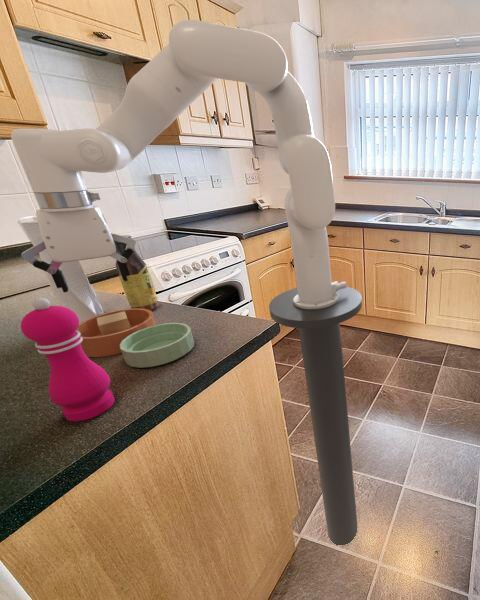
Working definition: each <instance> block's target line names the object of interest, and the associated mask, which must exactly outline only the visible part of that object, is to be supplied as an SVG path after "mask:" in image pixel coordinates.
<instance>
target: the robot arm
mask: <svg viewBox="0 0 480 600" xmlns="http://www.w3.org/2000/svg"><path fill="white" fill-rule="evenodd" d="M288 65H289V63H288V58H287V55H286V52H285V51H284V48H283V47H282V45H281V44H280V43H279V42H278V41H277V40H276V39H274V37H272V36H270V35H268V34H266V33H264V32H260V31H257V30H252V29H246V28H241V27H235V26H231V25H225V24H220V23H215V22H210V21H204V20H198V19H182V20H180V21H177V22H175V23H174V24H173V26H172V27H171V28H170V30H169V35H168V43H167V44H166V46H164V47H163V48H162V49H161V50H160V51H159V52H158V53H156V55H155V56H154V57H153V58H152V59H151V60H149V61H148V62H147V63H146V64H145V65H144V66H143V67H142V68H141V69H140V70H139V71H137V73H135V74H134V75H132V77H131V78H130V79H129V81H128V83H127V85H126V86H125V87H126V88H125V91H124V96H123V98H122V100H121V102H120V103H119V104H118V106H117V108H116V109H115V110H114V111H113V112H112V113H111V114H110V115H109V116H108V117H107V118H106V119H105V120H104V121H103V122H102V123H101V124H99V125H98V126H97V127H96V128H76V129H75V128H74V129H66V130H65V129H64V130H58V129H51V128H50V129H49V128H31V127H29V128H28V127H27V128H15V129H13V130H12V131H11V132H10V138H11V142H12V144H13V146H14V149H15V151H16V154H17V156H18V158H19V161H20V164H21V165H22V168H23V170H24V173H25V175H26V178H27V180H28V183H29V185H30V188H31V190H32V192H33V195H34V198H35V200H36V202H37V205H38V207H39V209H35V214H36V215H35V216H37V221H38V225H39V228H40V232H41V235H42V238H43V241H42V242H40V243H38V244H37V245H35V246H33V245H32V247H30V248H27V249H26V250H24V251H23V252H21V253H20V256H21V258H22V259H24V260H25V261H26V262H28V263H29V264H31V265H32V266H33V267H34V268H36V269H39V270H41V271H43V272H44V271H46V272H48V273H49V274H51V275H52V277H53V280H54V282H55V284H56V287H57V288H62V290H63V292H67V291H68V285H67V283H66V280H65V278H64V276H63V273H62V271H61V270H59V267H60V266H61V264H62V263H64V262H73V261H79V262H80V261H87V260H93V259H100V258H106V257H110V258H112V259H115V261H116V260H118V262H117V264H118V267H119V270H120V272H121V275H122V278H123V280H124V281H128V279H127V276H130V273H129V270H128V267H127V264H126V262H127V260H128V258H129V257H130V256H131V255H132V253H133V250H134V249H135V247H136V244H137V241H136V240H135V238H133V237H131V238H128V237H124V236H121V235H120V234H116V233H112V232H111V229H110V227H109V224H108V222H107V219H106V218H105V216H104V214H103V212H102V211H101V209H100V207H99V206H98V205H94V204H93V203H94V202H97V201H101V197H100V194H99V192H95V193H94V192H91V191H89V190H88V187H87V184H86V182H85V178H84V176H83V173H82V172H88V173H97V174H99V173H100V174H105V173H112V172H115V171H120V170H122V169H124V168H125V167H127V166H129V164H131V163H132V162H133V161H134V160H135V159H136V158H137V157H138V156H139V155H141V153H143V151H145V149H146V148H148V147H149V145H150V144H151V143H153V141H154V140H155V139H156V138H157V137H158V136H160V134H161V133H162V132H164V131H165V130H166V129H167V128H169V127H170V126H171V125H172V124H173V122H175V120H176V119H178V118H179V117H180V116H181V114H182V113H183V112H184V111H186V109H188V107H190V106H191V105H192V104H193V103H194V102H195V101H196V100H197V99H198V98H199V97H200V96H202V94H204V93H205V92H206V91H207V90H208V89H209V88H210V87H211V86H212V85H213V84H214V83H215V82H216V81H217V80H218V79H220V80H225V81H230V82H231V81H232V82H240V83H244V84H245V85H246V86H247V87H248V88H249V89H251V90H252V91H254V92H255V93H258V95H260V96H261V97H262V98H263V99H264V100H265V101H266V103H267V105H268V107H269V109H270V113H271V116H272V122H273V126H274V129H275V131H274V132H275V137H276V144H277V151H278V160H279V163H280V166H281V168H282V170H283V171H284V173H286V174H287V175H288V177H289V183H290V188H289V190H288V191H287V192H286V194H285V197H284V202H283V203H284V212H285V217H286V222H287V226H288V231H289V237H290V244H291V251H292V259H293V265H294V266H293V267H294V273H295V281H296V288H297V289H298V294H297V295H296V296H295V297H294V299H293V302H294V305H295V306H297V307H299V308H302V309H321V308H326V307H329V306H331V305H333V304H335V303H336V302H337V301H338V299H339V295H338V293H337V291H338V290H339V289H343V288H346V287H348V284H347V281H342V282H339V281H338V280H336V281H333V279H332V270H331V269H332V268H331V259H330V250H329V249H330V248H329V236H328V231H327V226H329V225H330V223H331V222H332V221H333V219H334V217H335V214H336V196H335V187H334V179H333V170H332V169H333V168H332V162H331V158H330V155H329V152H328V150H327V148H326V146H325V144H324V143H323V142H322V141H321V140H320V139H318V138H317V137H316V136H315V134H314V126H313V121H312V115H311V111H310V106H309V103H308V98H307V96H306V94H305V91H304V90H303V88H302V87H301V85H300V83H299V82H298V80H297V79H296V78H295V77H294V75H293V74H291V72H290V71H289V70H288V68H289V67H288ZM114 241H118V242H122V243H126V244H127V246H126V249H125V250H124V251H123V253H122V254H121V253H119V252H117V251H116V246H115V243H114ZM45 249H47V252H48V254H49V256H50V258H51V259H52V262H51V263H50V264H48V263H46V262H43V261H41V259H40V258H38V257H37V256H36V255H38V254H39V253H40V252H41V251H43V250H45Z"/></svg>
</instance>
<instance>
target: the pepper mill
mask: <svg viewBox="0 0 480 600" xmlns="http://www.w3.org/2000/svg"><path fill="white" fill-rule="evenodd" d="M32 307H33V308H34V309H33V310H31V311H30V312H28V313H26V314H25V315H24V317H23V318H22V320H21V321H20V330H21V332H22V334H23V336H25V337H26V338H27V339H28V340H31V341H34V342H35V343H34V348H36V349H37V352H38V353H39V354H41V355H44V356H45V357H46V360H47V361H48V364H49V369H50V375H49V381H48V395H49V398H50V400H51V402H52V403H53V404H54V405H56V406H59V407H62V408H61V412H62V413H63V416H64V418H65V419H66V420H67V421H69V422H72V423H73V422H74V423H75V422H83V421H87V420H90V419H94V418H96V417H97V416H100V415H102V414H103V413H105V412H106V411H108V410H109V409H110V408H111V407H112V406H113V405H114V404H115V401H116V400H115V399H116V398H115V396H114V394H113V391H112V390H111V389H109V388H110V386H111V378H110V376H109V374H108V373H107V371H106V370H105V369H104V368H103V367H102V366H100V365H98V364H97V363H95V362H94V361H92V360H91V359H90V357H87V356H86V355H85V353H84V351H83V349H82V346H81V342H82V340H83V338H82V337H81V336H80V335H81V334H80V332H78V331H76V330H77V328H78V326H79V319H78V317H77V315H76V314H75V312H73V311H72V310H71V309H69V308H66V307H62V306H61V305H51V301H50V300H49V299H47V298H45V297H38V298H35V299H34V300H33V301H32Z"/></svg>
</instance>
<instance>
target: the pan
mask: <svg viewBox="0 0 480 600" xmlns="http://www.w3.org/2000/svg"><path fill="white" fill-rule="evenodd" d="M123 311H125V314H126V316H127V319H128V322H129V324H130V327H131V328H130V329H127V330H124V331H121V332H117V333H114V334H110V335H104V336H102V334H101V331H100V329H99V327H98V322H97V318H98V317H102V316H107V315H111V314H115V313H119V312H123ZM154 325H157V322H156V319H155V316H154V314H153V312H152V310H151V311H150V310H147V309H141V308H133V309H132V308H124V309H118V310H113V311H109V312H105V313H104V314H101V315H98V316H94V317H92V318H89V319H87V320H85V321H83V322H81V323H79V326H78V328H77V330H76V331H78V332H80V334H81V335H80V336H81V337H82V338H83V340H82V342H81V346H82V349H83V351H84V353H85V355H86V356H87V357H88V358H102V357H109V356H113V355H118V354H122V352H121V349H120V343H121V342H122V340H124V339H125V338H126V337H127V336H129V335H131V334H133V333H134V332H136V331H139V330H142V329H144V328H147V327H151V326H154Z"/></svg>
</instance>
